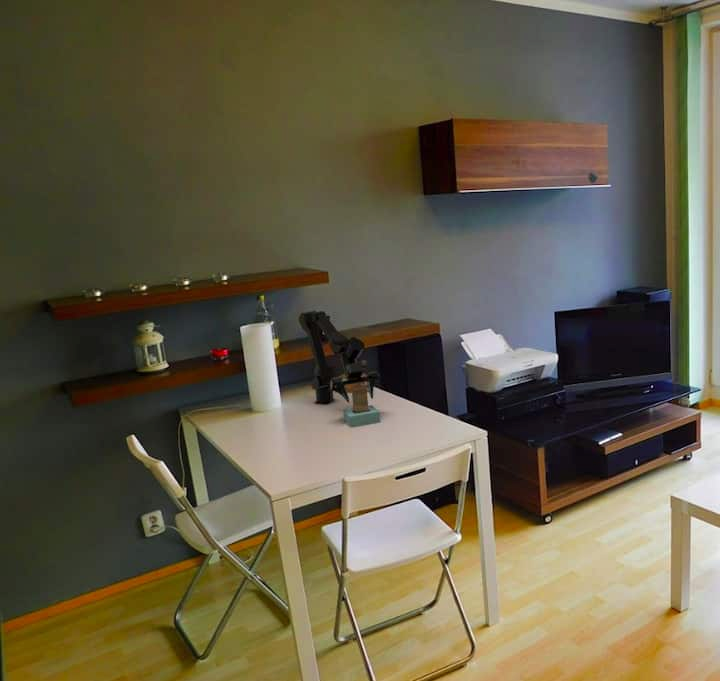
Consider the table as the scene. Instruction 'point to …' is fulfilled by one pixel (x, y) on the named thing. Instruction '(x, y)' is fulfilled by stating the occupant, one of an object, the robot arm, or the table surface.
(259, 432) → the table surface
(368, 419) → the rectangular frame
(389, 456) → the table surface
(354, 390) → the slat
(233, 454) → the table surface
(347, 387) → the tin
